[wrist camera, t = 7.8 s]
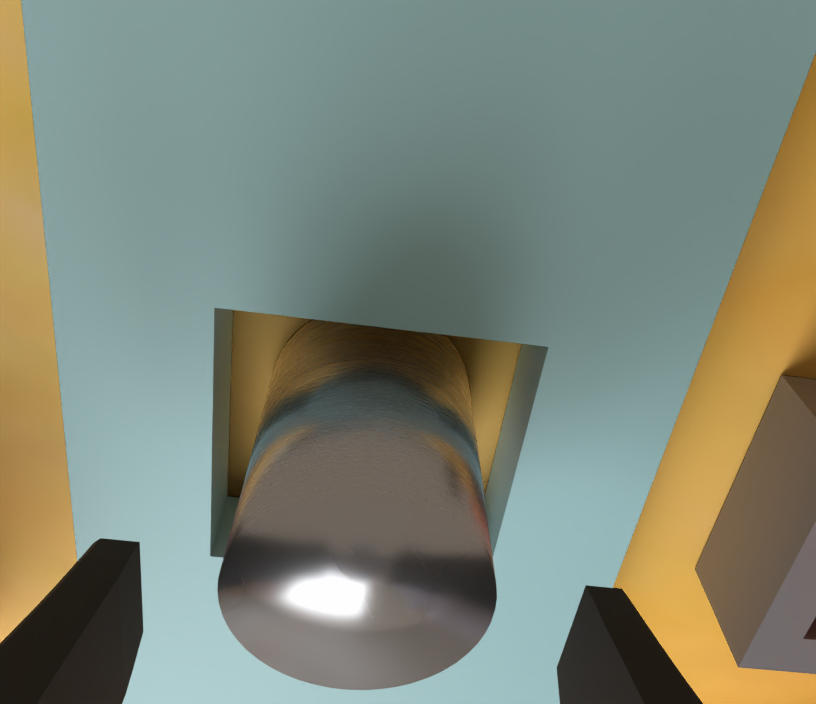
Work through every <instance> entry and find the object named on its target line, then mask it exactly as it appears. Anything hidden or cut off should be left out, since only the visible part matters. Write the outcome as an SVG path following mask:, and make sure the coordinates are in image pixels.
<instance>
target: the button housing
mask: <svg viewBox="0 0 816 704" xmlns="http://www.w3.org/2000/svg"><path fill="white" fill-rule="evenodd" d="M695 570H696V573H697V575H698V577H699V579H700V582H701V584H702V586H703V588H704V591H705V593H706V595H707V598H708V600H709V602H710V604H711V607H712V609H713V611H714V613H715V616H716V618H717V620H718V622H719V625H720V627H721V629H722V632H723V634H724V636H725V638H726V641H727V643H728V645H729V647H730V650H731V652H732V654H733V657H734V659H735V661H736V663H737V666H738V667H741V668H753V669H764V670H776V671H787V672H799V673H810V674H816V379H809V378H801V377H792V376H784V375H781V378H780V380H779V382H778V384H777V387H776V389H775V391H774V393H773V396H772V398H771V400H770V402H769V404H768V407H767V409H766V411H765V413H764V416H763V418H762V420H761V422H760V425H759V427H758V429H757V431H756V434H755V436H754V438H753V440H752V443H751V445H750V447H749V449H748V452H747V454H746V456H745V458H744V460H743V463H742V465H741V467H740V469H739V472H738V474H737V476H736V478H735V481H734V483H733V485H732V487H731V490H730V492H729V494H728V496H727V499H726V501H725V503H724V505H723V508H722V510H721V512H720V514H719V517H718V519H717V521H716V523H715V525H714V528H713V530H712V532H711V534H710V537H709V539H708V541H707V543H706V546H705V548H704V550H703V552H702V555H701V557H700V559H699V561H698V564H697V566H696V568H695Z"/></svg>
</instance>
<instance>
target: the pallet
mask: <svg viewBox="0 0 816 704" xmlns="http://www.w3.org/2000/svg"><path fill="white" fill-rule="evenodd" d="M21 3H22V13H23V23H24V33H25V43H26V53H27V63H28V73H29V83H30V93H31V103H32V113H33V123H34V133H35V143H36V153H37V163H38V173H39V183H40V193H41V203H42V213H43V223H44V233H45V243H46V253H47V263H48V273H49V283H50V293H51V303H52V313H53V323H54V333H55V343H56V353H57V363H58V373H59V383H60V393H61V403H62V413H63V423H64V433H65V443H66V453H67V463H68V473H69V483H70V493H71V503H72V513H73V523H74V533H75V543H76V553H77V561H78V560H79V559H80V558H81V557H82V556H83V554H84V553H85V552H86V551H87V550H88V549H89V547H90V546H91V545H92V544H93V543H94V542H95V541H97V540H98V539H100V538H104V539H114V540H124V541H135V542H140V562H141V585H142V608H143V635H142V638H141V642H140V646H139V649H138V653H137V657H136V660H135V664H134V668H133V671H132V675H131V678H130V681H129V685H128V688H127V692H126V695H125V698H124V700H123V703H122V704H560V699H559V688H558V678H557V665H558V663H559V660H560V657H561V654H562V651H563V648H564V646H565V643H566V640H567V637H568V634H569V631H570V628H571V626H572V623H573V620H574V617H575V614H576V611H577V609H578V606H579V603H580V600H581V597H582V594H583V592H584V589H585V586H586V585H588V586H598V587H608V588H613V586H614V583H615V580H616V578H617V575H618V572H619V570H620V567H621V564H622V562H623V559H624V557H625V554H626V551H627V549H628V546H629V543H630V541H631V538H632V536H633V533H634V530H635V528H636V525H637V522H638V520H639V517H640V514H641V512H642V509H643V507H644V504H645V501H646V499H647V496H648V493H649V491H650V488H651V485H652V483H653V480H654V478H655V475H656V472H657V470H658V467H659V464H660V462H661V459H662V456H663V454H664V451H665V449H666V446H667V443H668V441H669V438H670V435H671V433H672V430H673V428H674V425H675V422H676V420H677V417H678V414H679V412H680V409H681V406H682V404H683V401H684V399H685V396H686V393H687V391H688V388H689V385H690V383H691V380H692V377H693V375H694V372H695V370H696V367H697V364H698V362H699V359H700V356H701V354H702V351H703V348H704V346H705V343H706V341H707V338H708V335H709V333H710V330H711V327H712V325H713V322H714V320H715V317H716V314H717V312H718V309H719V306H720V304H721V301H722V298H723V296H724V293H725V291H726V288H727V285H728V283H729V280H730V277H731V275H732V272H733V269H734V267H735V264H736V262H737V259H738V256H739V254H740V251H741V248H742V246H743V243H744V241H745V238H746V235H747V233H748V230H749V227H750V225H751V222H752V219H753V217H754V214H755V212H756V209H757V206H758V204H759V201H760V198H761V196H762V193H763V190H764V188H765V185H766V183H767V180H768V177H769V175H770V172H771V169H772V167H773V164H774V161H775V159H776V156H777V154H778V151H779V148H780V146H781V143H782V140H783V138H784V135H785V133H786V130H787V127H788V125H789V122H790V119H791V117H792V114H793V111H794V109H795V106H796V104H797V101H798V98H799V96H800V93H801V90H802V88H803V85H804V82H805V80H806V77H807V75H808V72H809V69H810V67H811V64H812V61H813V59H814V56H815V53H816V0H21ZM233 310H239V311H247V312H256V313H264V314H273V315H281V316H290V317H298V318H307V319H315V320H324V321H332V322H341V323H349V324H358V325H366V326H375V327H383V328H392V329H400V330H409V331H417V332H426V333H434V334H443V335H451V336H460V337H468V338H477V339H485V340H494V341H502V342H511V343H519V344H522V346H521V350H520V354H519V358H518V362H517V366H516V370H515V374H514V378H513V382H512V387H511V391H510V395H509V399H508V403H507V407H506V411H505V415H504V419H503V423H502V427H501V432H500V436H499V440H498V444H497V448H496V452H495V456H494V460H493V464H492V468H491V472H490V477H489V481H488V485H487V489H486V493H485V497H484V498H485V505H486V513H487V520H488V527H489V535H490V542H491V549H492V556H493V564H494V571H495V578H496V588H497V600H496V607H495V612H494V615H493V618H492V621H491V623H490V625H489V627H488V629H487V631H486V633H485V634H484V636H483V637H482V638H481V640H480V641H479V642H478V644H477V645H476V646H475V647H474V648H473V649H472V650H471V651H470V652H469V653H468V654H467V655H466V656H464V657H463V658H462V659H461V660H459V661H458V662H457V663H455V664H454V665H452V666H450V667H449V668H447V669H445V670H444V671H442V672H440V673H438V674H435V675H433V676H431V677H429V678H426V679H423V680H420V681H417V682H414V683H411V684H407V685H403V686H398V687H392V688H386V689H376V690H345V689H336V688H329V687H323V686H318V685H314V684H310V683H307V682H303V681H300V680H297V679H295V678H292V677H290V676H287V675H284V674H282V673H280V672H279V671H277V670H275V669H273V668H271V667H269V666H268V665H266V664H264V663H263V662H261V661H260V660H258V659H257V658H256V657H255V656H253V655H252V654H251V653H250V652H248V651H247V650H246V649H245V648H244V647H243V646H242V645H241V644H240V642H239V641H238V640H237V639H236V638H235V636H234V635H233V634H232V632H231V631H230V629H229V628H228V626H227V624H226V622H225V620H224V618H223V616H222V612H221V609H220V606H219V601H218V592H217V588H218V577H219V573H220V569H221V565H222V562H223V558H224V554H225V551H226V547H227V543H228V539H229V536H230V532H231V528H232V525H233V521H234V517H235V513H236V510H237V506H238V502H239V499H240V497H230V496H227V492H228V459H229V426H230V393H231V360H232V327H233Z"/></svg>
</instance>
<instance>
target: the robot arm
mask: <svg viewBox="0 0 816 704" xmlns="http://www.w3.org/2000/svg"><path fill="white" fill-rule="evenodd" d="M142 635H143V608H142V585H141V562H140V542H135V541H124V540H114V539H104V538H100V539H98V540H97V541H95V542H94V543H93V544H92V545H91V546H90V547H89V549H88V550H87V551H86V552H85V553H84V554H83V556H82V557H81V558H80V559H79V560H78V561H77V562H76V564H75V565H74V566H73V567H72V568H71V569H70V570H69V572H68V573H67V574H66V575H65V576H64V577H63V578H62V579H61V580H60V582H59V583H58V584H57V585H56V586H55V587H54V588H53V589H52V590H51V591H50V592H49V593H48V595H47V596H46V597H45V598H44V599H43V600H42V601H41V602H40V603H39V604H38V605H37V606H36V607H35V608H34V609H33V611H32V612H31V613H30V614H29V615H28V616H27V617H26V618H25V619H24V620H23V621H22V622H21V623H20V624H19V625H18V626H17V627H16V628H15V629H14V630H13V631H12V632H11V633H10V634H9V635H8V636H7V637H6V638H5V639H4V640H3V641H2V642H1V643H0V704H122V703H123V700H124V698H125V695H126V692H127V688H128V685H129V681H130V678H131V675H132V671H133V668H134V664H135V660H136V657H137V653H138V649H139V646H140V642H141V638H142ZM557 678H558V688H559V699H560V704H703V703H702V702H701V700H700V699H699V698H698V696H697V695H696V694H695V692H694V691H693V690H692V688H691V687H690V686H689V684H688V683H687V682H686V680H685V679H684V677H683V676H682V675H681V673H680V672H679V670H678V669H677V668H676V666H675V665H674V663H673V662H672V660H671V659H670V658H669V656H668V655H667V653H666V652H665V650H664V649H663V648H662V646H661V645H660V643H659V642H658V640H657V639H656V637H655V636H654V635H653V633H652V632H651V630H650V629H649V627H648V626H647V624H646V623H645V621H644V620H643V618H642V617H641V615H640V614H639V613H638V611H637V610H636V608H635V607H634V605H633V604H632V602H631V601H630V599H629V598H628V597H627V595H626V594H625V592H624V591H623V590H622V589H618V588H608V587H598V586H588V585H586V586H585V589H584V592H583V594H582V597H581V600H580V603H579V606H578V609H577V611H576V614H575V617H574V620H573V623H572V626H571V628H570V631H569V634H568V637H567V640H566V643H565V646H564V648H563V651H562V654H561V657H560V660H559V663H558V665H557Z"/></svg>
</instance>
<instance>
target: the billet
mask: <svg viewBox="0 0 816 704" xmlns="http://www.w3.org/2000/svg"><path fill="white" fill-rule="evenodd" d="M217 592H218V601H219V606H220V609H221V612H222V616H223V618H224V620H225V622H226V624H227V626H228V628H229V629H230V631H231V632H232V634H233V635H234V636H235V638H236V639H237V640H238V641H239V642H240V644H241V645H242V646H243V647H244V648H245V649H246V650H247V651H248V652H250V653H251V654H252V655H253V656H255V657H256V658H257V659H258V660H260V661H261V662H263V663H264V664H266V665H268V666H269V667H271V668H273V669H275V670H277V671H279V672H280V673H282V674H284V675H287V676H290V677H292V678H295V679H297V680H300V681H303V682H307V683H310V684H314V685H318V686H323V687H329V688H336V689H345V690H376V689H386V688H392V687H398V686H403V685H407V684H411V683H414V682H417V681H420V680H423V679H426V678H429V677H431V676H433V675H435V674H438V673H440V672H442V671H444V670H445V669H447V668H449V667H450V666H452V665H454V664H455V663H457V662H458V661H459V660H461V659H462V658H463V657H464V656H466V655H467V654H468V653H469V652H470V651H471V650H472V649H473V648H474V647H475V646H476V645H477V644H478V642H479V641H480V640H481V638H482V637H483V636H484V634H485V633H486V631H487V629H488V627H489V625H490V623H491V621H492V618H493V615H494V612H495V607H496V600H497V588H496V578H495V571H494V564H493V556H492V549H491V542H490V535H489V527H488V520H487V513H486V505H485V498H484V491H483V484H482V476H481V469H480V462H479V454H478V447H477V440H476V433H475V425H474V418H473V411H472V403H471V396H470V389H469V382H468V376H467V371H466V368H465V365H464V362H463V360H462V357H461V356H460V354H459V352H458V350H457V349H456V347H455V346H454V345H453V343H452V342H451V341H450V339H449V338H448V337H447V336H446V335H443V334H434V333H426V332H417V331H409V330H400V329H392V328H383V327H375V326H366V325H358V324H349V323H341V322H332V321H324V320H315V319H313V320H311V321H310V322H308V323H307V324H305V325H304V326H303V327H302V328H300V329H299V330H298V331H297V332H296V333H295V334H294V335H293V336H292V337H291V338H290V339H289V341H288V342H287V343H286V345H285V346H284V348H283V349H282V351H281V353H280V355H279V357H278V360H277V362H276V365H275V369H274V373H273V376H272V380H271V384H270V387H269V391H268V395H267V399H266V402H265V406H264V410H263V413H262V417H261V421H260V424H259V428H258V432H257V436H256V439H255V443H254V447H253V450H252V454H251V458H250V462H249V465H248V469H247V473H246V476H245V480H244V484H243V488H242V491H241V495H240V499H239V502H238V506H237V510H236V513H235V517H234V521H233V525H232V528H231V532H230V536H229V539H228V543H227V547H226V551H225V554H224V558H223V562H222V565H221V569H220V573H219V577H218V588H217Z"/></svg>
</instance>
